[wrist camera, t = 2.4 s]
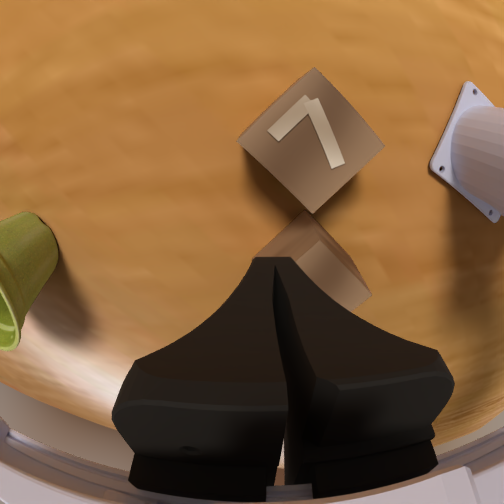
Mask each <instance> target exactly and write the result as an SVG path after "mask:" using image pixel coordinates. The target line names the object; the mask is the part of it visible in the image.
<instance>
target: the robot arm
mask: <svg viewBox="0 0 504 504" xmlns="http://www.w3.org/2000/svg"><path fill="white" fill-rule="evenodd" d="M473 90H474V94H473ZM440 166H442V170H441V171H439V168H440ZM430 169H431V170H432V171H433V172H435V173H436V174H437V175H438V176H440V177H441V178H442V179H444V180H445V181H446V182H447V183H449V184H450V185H451V186H452V187H453V188H455V189H456V190H457V191H458V192H459V193H461V194H462V195H463V196H464V197H465V198H466V199H468V200H469V201H470V202H471V203H472V204H473V205H474V206H475V207H477V208H478V209H479V210H480V211H481V212H482V213H483V214H484V215H485V216H486V217H487V218H488V219H489V220H490V221H492V222H493V223H496V222H497V221H498V220H499V218H500V216H501V215H503V216H504V108H499V107H495V106H494V105H493V104H492V103H491V102H490V101H489V100H488V99H487V97H486V96H485V95H484V94H483V93H482V92H481V91H480V90H479V89H478V88H477V87H476V86H475V85H474V84H473V83H472V82H470V81H466V82H465V83H464V85H463V87H462V90H461V93H460V95H459V98H458V100H457V103H456V105H455V108H454V110H453V113H452V115H451V117H450V120H449V122H448V124H447V126H446V129H445V131H444V133H443V135H442V138H441V140H440V142H439V144H438V146H437V148H436V151H435V153H434V155H433V157H432V159H431V161H430ZM489 211H490V213H489ZM454 385H455V383H454V380H453V377H452V375H451V373H450V371H449V369H448V368H447V366H446V364H445V362H444V361H443V359H442V357H441V355H440V354H439V352H438V351H437V350H435V349H432V348H429V347H426V346H423V345H420V344H416V343H413V342H410V341H407V340H405V339H402V338H400V337H397V336H395V335H393V334H390V333H388V332H386V331H384V330H382V329H380V328H378V327H376V326H374V325H372V324H370V323H368V322H367V321H365V320H363V319H361V318H359V317H358V316H356V315H355V314H353V313H351V312H350V311H349V310H347V309H346V308H344V307H343V306H341V305H340V304H339V303H337V302H336V301H335V300H333V299H332V298H331V297H330V296H328V295H327V294H326V293H325V292H324V291H323V290H322V289H320V288H319V287H318V286H317V285H316V284H315V283H314V282H313V281H312V280H311V279H310V278H309V277H308V276H307V275H306V274H305V272H304V271H303V270H302V269H301V268H300V267H299V266H298V265H297V263H296V262H295V261H294V260H293V259H292V258H291V257H255V258H254V259H253V260H252V263H251V265H250V267H249V269H248V271H247V273H246V274H245V276H244V277H243V279H242V280H241V282H240V284H239V285H238V286H237V288H236V289H235V290H234V291H233V293H232V294H231V295H230V297H229V298H228V299H227V300H226V301H225V302H224V303H223V305H222V306H221V307H220V308H219V309H218V310H217V311H216V312H215V313H213V314H212V315H211V316H210V317H209V318H208V319H207V320H205V321H204V322H203V323H202V324H201V325H199V326H198V327H197V328H195V329H194V330H193V331H191V332H190V333H188V334H186V335H185V336H183V337H182V338H180V339H178V340H177V341H175V342H173V343H171V344H170V345H168V346H166V347H164V348H162V349H160V350H158V351H155V352H153V353H151V354H149V355H147V356H145V357H142V358H140V359H137V360H135V361H134V363H133V365H132V367H131V369H130V371H129V372H128V374H127V376H126V378H125V380H124V382H123V384H122V386H121V389H120V391H119V394H118V397H117V399H116V402H115V405H114V407H113V410H112V421H113V423H114V425H115V427H116V429H117V430H118V432H119V433H120V434H121V435H122V437H123V438H124V440H125V441H126V442H127V444H128V445H129V446H130V448H131V449H132V450H133V451H134V453H135V454H134V458H133V462H132V466H131V470H130V472H129V471H125V470H120V469H117V468H113V467H109V466H106V465H102V464H99V463H95V462H92V461H89V460H86V459H83V458H80V457H77V456H74V455H71V454H68V453H66V452H63V451H60V450H57V449H55V448H53V447H50V446H48V445H45V444H43V443H41V442H38V441H36V440H34V439H32V438H29V437H27V436H25V435H23V434H21V433H19V432H17V431H15V430H13V429H11V428H9V426H8V424H7V423H6V422H5V421H4V420H3V419H2V418H1V417H0V500H1V501H3V502H4V503H5V504H504V427H502V428H500V429H498V430H496V431H494V432H492V433H490V434H488V435H486V436H484V437H482V438H479V439H477V440H475V441H473V442H471V443H468V444H466V445H463V446H461V447H459V448H456V449H454V450H451V451H448V452H446V453H443V454H440V455H438V456H436V454H435V452H434V449H433V446H432V443H431V440H432V439H433V438H434V437H435V432H434V430H433V427H432V425H431V424H432V422H433V421H434V420H435V419H436V417H437V416H438V415H439V413H440V412H441V411H442V409H443V408H444V407H445V405H446V404H447V402H448V401H449V399H450V397H451V395H452V393H453V389H454ZM283 439H284V469H285V485H282V486H274V482H275V477H276V471H277V466H279V462H280V456H281V451H282V445H283Z"/></svg>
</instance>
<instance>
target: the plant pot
mask: <svg viewBox="0 0 504 504" xmlns="http://www.w3.org/2000/svg"><path fill="white" fill-rule="evenodd" d="M57 262H58V248H57V244H56V241H55V238H54V236H53V233H52V232H51V230H50V228H49V227H48V226H46V225H45V224H43V223H42V222H41V221H40V219H39V218H38V216H37V215H35V214H33V213H30V212H22V213H19V214H17V215H14V216H12V217H9V218H7V219H5V220H2V221H0V350H3V351H11V350H14V349H15V348H16V347H17V346H18V344H19V342H20V339H21V329H22V327H23V324H24V320H25V316H26V314H27V312H28V310H29V309H30V307H31V305H32V304H33V302H34V300H35V299H36V297H37V295H38V294H39V292H40V291H41V289H42V288H43V286H44V284H45V283H46V282H47V280H48V279H49V277H50V276H51V274H52V273H53V271H54V270H55V267H56V264H57Z"/></svg>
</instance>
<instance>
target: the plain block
mask: <svg viewBox="0 0 504 504" xmlns="http://www.w3.org/2000/svg"><path fill="white" fill-rule="evenodd" d="M255 257H291V258H292V259H293V260H294V261H295V262H296V263H297V265H298V266H299V267H300V268H301V269H302V270H303V271H304V272H305V274H306V275H307V276H308V277H309V278H310V279H311V280H312V281H313V282H314V283H315V284H316V285H317V286H318V287H319V288H320V289H322V290H323V291H324V292H325V293H326V294H327V295H328V296H330V297H331V298H332V299H333V300H335V301H336V302H337V303H339V304H340V305H341V306H343V307H344V308H346V309H347V310H349V311H350V312H351V311H353V310H354V309H355V308H357V307H358V306H359V305H360V304H362V303H363V302H364V301H365V300H367V299H368V298H369V297H370V296H372V294H371V292H370V290H369V288H368V286H367V285H366V283H365V281H364V279H363V278H362V276H361V274H360V272H359V271H358V269H357V267H356V265H355V264H354V262H353V260H352V259H351V257H350V256H349V255H348V254H347V252H346V251H345V250H344V249H343V248H342V247H341V246H340V245H339V244H338V243H337V242H336V241H335V240H334V239H333V238H332V237H331V236H330V235H329V233H328V232H327V231H326V230H325V229H324V228H323V227H322V226H321V225H320V224H319V223H318V222H317V221H316V220H315V219H314V218H313V217H312V216H311V215H310V214H309V213H308V212H307V211H306V210H304V211H303V212H302V213H301V214H300V215H298V216H297V217H296V218H295V219H294V220H293V221H292V222H291V223H290V224H289V225H288V226H287V227H285V228H284V229H283V230H282V231H281V232H280V233H279V234H278V235H277V236H276V237H275V238H274V239H273V240H271V241H270V242H269V243H268V244H267V245H266V246H265V247H264V248H263V249H262V250H261V251H260V252H258V253H257V254H256V255H255V256H254V257H253V258H252V260H253V259H254V258H255Z"/></svg>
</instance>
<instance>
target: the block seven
mask: <svg viewBox="0 0 504 504" xmlns="http://www.w3.org/2000/svg"><path fill="white" fill-rule="evenodd" d="M237 142H238V143H239V144H240V145H241V146H242V147H243V148H244V149H245V150H247V151H248V152H249V153H250V154H251V155H252V156H253V157H254V158H255V159H256V160H257V161H259V162H260V163H261V164H262V165H263V166H264V167H265V168H266V169H267V170H268V171H269V172H270V173H271V174H272V175H273V176H274V177H275V178H277V179H278V180H279V181H280V182H281V183H282V184H283V185H284V186H285V187H286V188H287V189H288V190H289V191H290V192H291V193H292V194H293V195H294V196H295V197H296V198H297V199H298V200H299V201H300V202H301V203H302V204H303V205H304V206H305V207H306V208H307V209H308V210H309V211H310V212H311V213H312V214H313V213H314V212H315V211H316V210H317V209H318V208H320V207H321V206H322V205H323V204H324V203H325V202H326V201H327V200H328V199H329V198H330V197H331V196H333V195H334V194H335V193H336V192H337V191H338V190H339V189H340V188H341V187H342V186H343V185H344V184H345V183H347V182H348V181H349V180H350V179H351V178H352V177H353V176H354V175H355V174H356V173H357V172H358V171H359V170H360V169H362V168H363V167H364V166H365V165H366V164H367V163H368V162H369V161H370V160H371V159H372V158H373V157H374V156H375V155H376V154H378V153H379V152H380V151H381V150H382V149H383V148H384V147H385V145H384V144H383V143H382V141H381V140H380V139H379V137H378V136H377V135H376V134H375V132H374V131H373V130H372V129H371V128H370V126H369V125H368V124H367V123H366V122H365V120H364V119H363V118H362V117H361V116H360V115H359V113H358V112H357V111H356V110H355V109H354V108H353V107H352V105H351V104H350V103H349V102H348V101H347V100H346V99H345V98H344V97H343V96H342V94H341V93H340V92H339V91H338V90H337V89H336V88H335V87H334V86H333V85H332V84H331V83H330V82H329V81H328V80H327V79H326V78H325V77H324V76H323V75H322V74H321V73H320V72H319V71H318V70H317V69H316V68H315V67H314V68H312V69H311V70H310V71H308V72H307V73H306V74H304V75H303V76H302V77H300V78H299V79H298V80H297V81H296V82H295V83H293V84H292V85H291V86H290V87H289V88H288V89H287V90H286V91H285V92H284V93H283V94H282V95H280V96H279V97H278V98H277V99H276V100H275V101H274V102H273V103H272V104H271V105H270V106H269V107H268V108H267V109H266V110H265V111H264V112H263V113H262V114H261V115H260V116H259V117H258V118H257V119H256V120H255V121H254V122H253V123H252V124H251V125H250V126H249V127H248V128H247V129H246V130H245V131H244V132H243V133H242V134H241V135H240V136H239V138H238V140H237Z"/></svg>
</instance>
